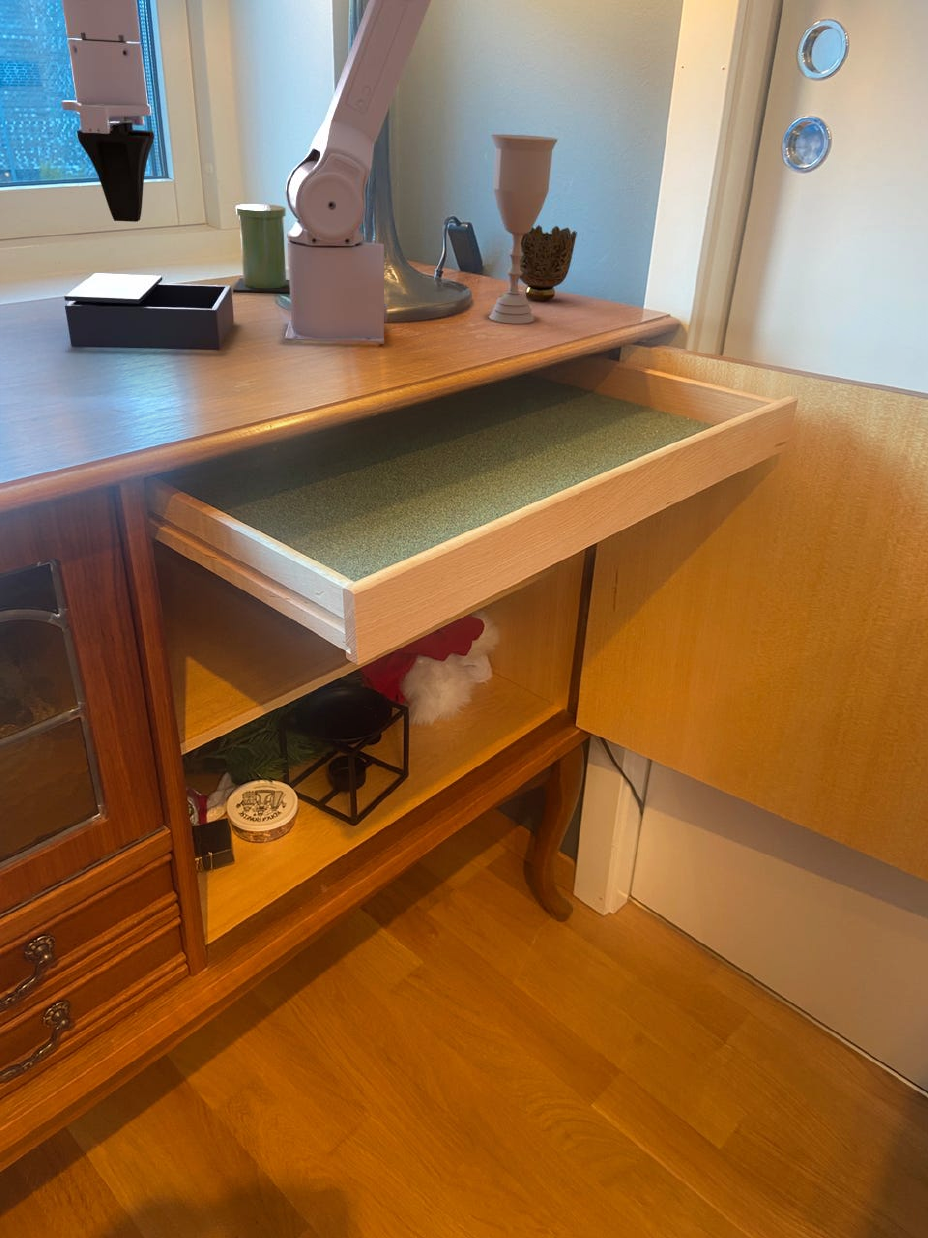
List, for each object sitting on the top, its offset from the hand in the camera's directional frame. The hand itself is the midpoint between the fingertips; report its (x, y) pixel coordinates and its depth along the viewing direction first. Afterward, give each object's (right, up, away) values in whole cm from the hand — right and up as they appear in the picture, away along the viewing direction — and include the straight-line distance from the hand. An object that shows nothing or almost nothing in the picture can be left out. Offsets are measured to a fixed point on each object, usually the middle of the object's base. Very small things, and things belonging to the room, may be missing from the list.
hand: (127, 220), depth 83 cm
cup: (+39, +3, +30) cm, 50 cm away
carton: (+1, -9, +5) cm, 11 cm away
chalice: (+36, -2, +20) cm, 41 cm away
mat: (+7, +4, +28) cm, 29 cm away
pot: (+6, +4, +27) cm, 28 cm away
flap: (-2, -5, +3) cm, 6 cm away
